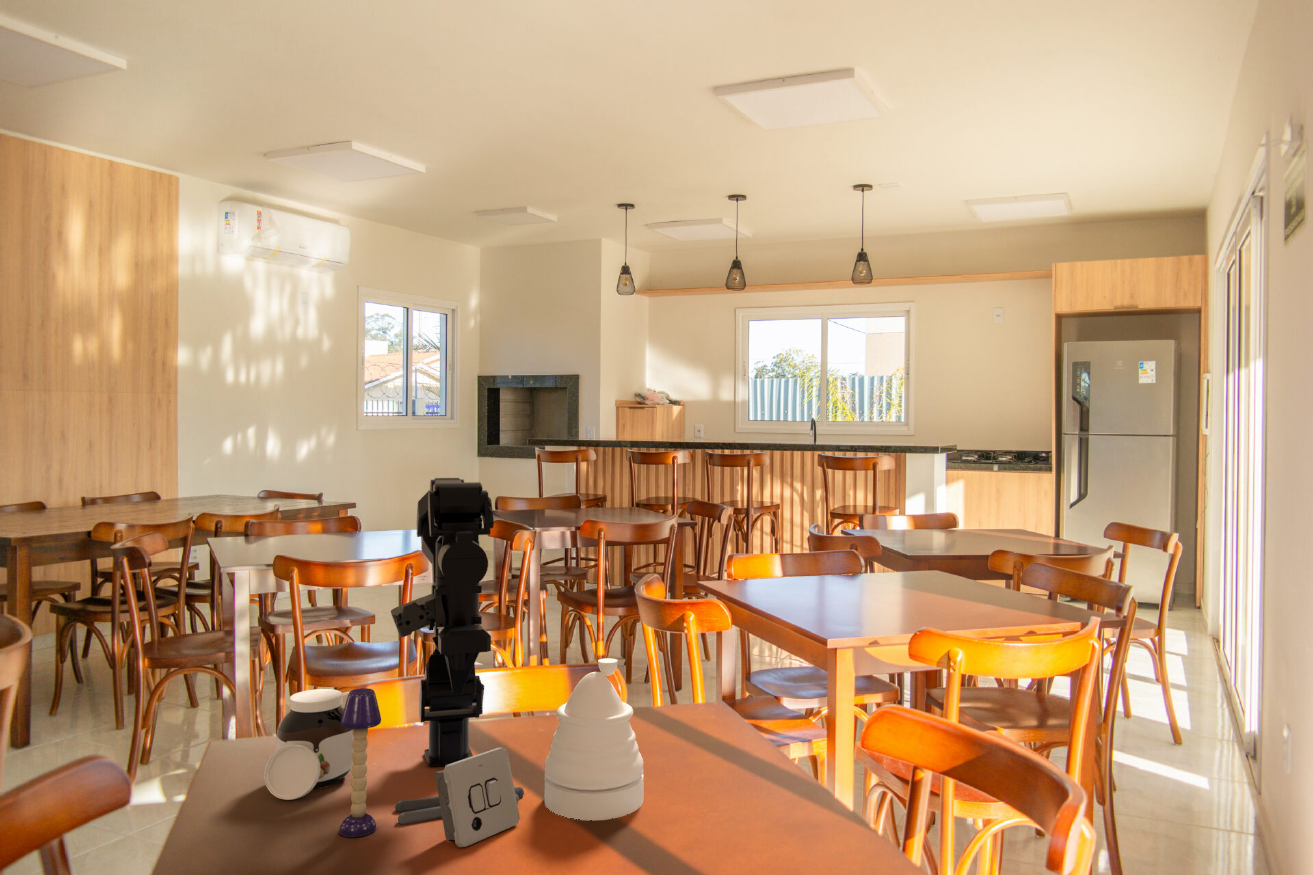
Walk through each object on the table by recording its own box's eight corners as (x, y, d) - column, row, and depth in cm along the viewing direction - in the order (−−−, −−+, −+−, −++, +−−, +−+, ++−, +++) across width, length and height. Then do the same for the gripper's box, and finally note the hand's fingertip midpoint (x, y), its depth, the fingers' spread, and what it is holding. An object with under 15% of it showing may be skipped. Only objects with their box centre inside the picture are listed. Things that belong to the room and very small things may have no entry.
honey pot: (613, 775, 131) (614, 647, 131) (661, 807, 120) (662, 666, 120) (528, 793, 125) (529, 658, 125) (571, 828, 114) (572, 679, 114)
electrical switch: (460, 851, 107) (456, 768, 108) (432, 843, 110) (428, 763, 111) (521, 825, 115) (517, 747, 115) (493, 818, 118) (488, 743, 118)
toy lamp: (345, 821, 115) (345, 685, 115) (383, 820, 116) (384, 684, 115) (335, 838, 110) (336, 696, 110) (376, 837, 111) (376, 695, 111)
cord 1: (394, 810, 119) (394, 799, 119) (522, 795, 125) (522, 784, 125) (395, 814, 118) (395, 803, 118) (524, 798, 123) (524, 788, 123)
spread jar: (348, 765, 135) (349, 684, 135) (363, 792, 125) (364, 704, 125) (258, 779, 129) (258, 694, 129) (266, 808, 119) (266, 716, 119)
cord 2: (396, 823, 115) (396, 811, 115) (516, 801, 122) (516, 790, 122) (399, 827, 114) (399, 815, 114) (520, 805, 121) (520, 794, 121)
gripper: (390, 569, 132) (390, 680, 132) (399, 589, 114) (399, 718, 114) (471, 566, 135) (470, 674, 135) (491, 585, 118) (491, 710, 118)
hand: (457, 693), depth 125 cm, fingers closed
